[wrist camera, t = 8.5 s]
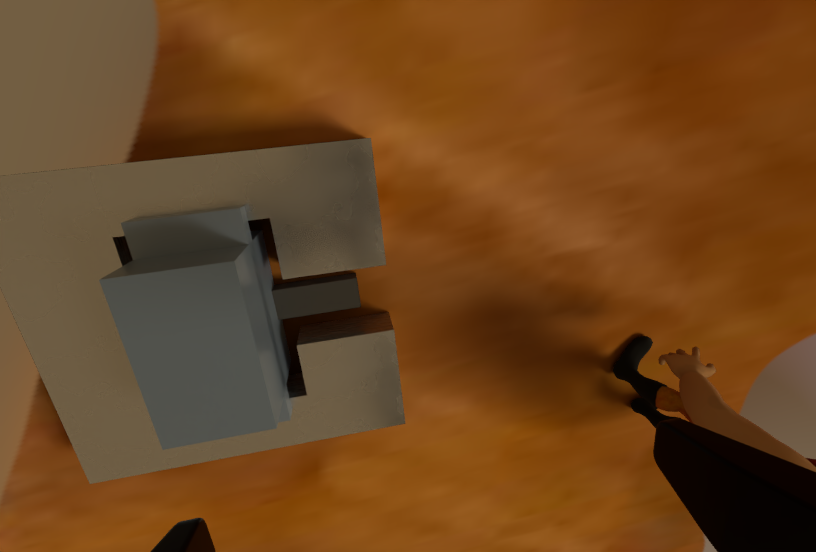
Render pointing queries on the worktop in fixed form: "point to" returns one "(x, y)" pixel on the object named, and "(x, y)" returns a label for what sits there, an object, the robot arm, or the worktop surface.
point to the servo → (210, 323)
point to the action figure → (695, 400)
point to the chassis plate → (108, 251)
